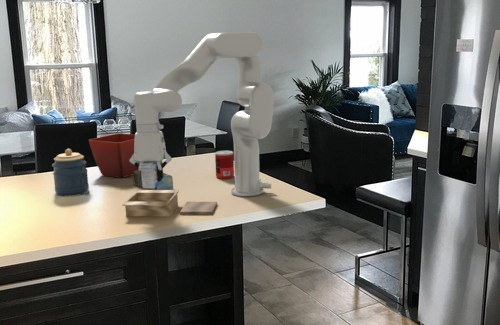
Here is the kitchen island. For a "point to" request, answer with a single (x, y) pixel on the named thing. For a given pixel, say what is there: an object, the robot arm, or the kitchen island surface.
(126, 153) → the plant pot
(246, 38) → the robot arm
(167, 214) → the wooden tray
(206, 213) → the walnut board
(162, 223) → the kitchen island surface
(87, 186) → the canister
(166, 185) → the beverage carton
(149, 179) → the medicine box
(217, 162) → the canned food
